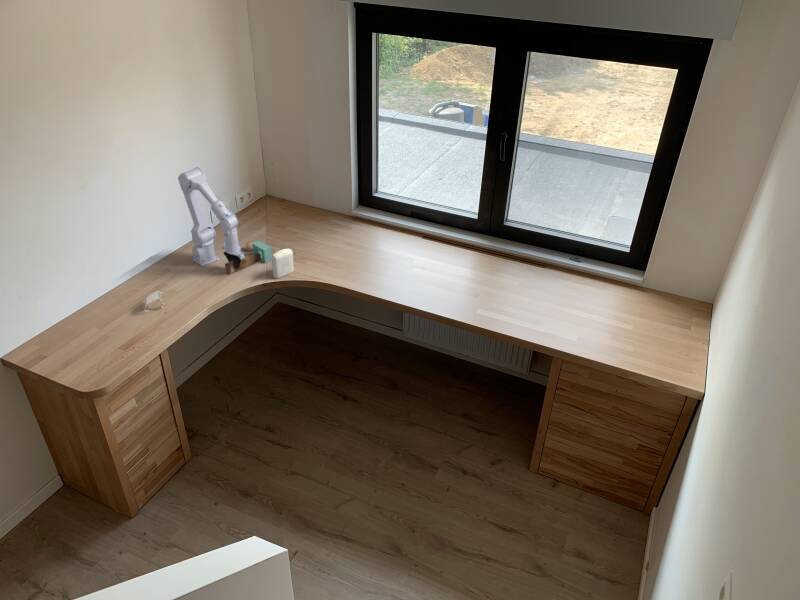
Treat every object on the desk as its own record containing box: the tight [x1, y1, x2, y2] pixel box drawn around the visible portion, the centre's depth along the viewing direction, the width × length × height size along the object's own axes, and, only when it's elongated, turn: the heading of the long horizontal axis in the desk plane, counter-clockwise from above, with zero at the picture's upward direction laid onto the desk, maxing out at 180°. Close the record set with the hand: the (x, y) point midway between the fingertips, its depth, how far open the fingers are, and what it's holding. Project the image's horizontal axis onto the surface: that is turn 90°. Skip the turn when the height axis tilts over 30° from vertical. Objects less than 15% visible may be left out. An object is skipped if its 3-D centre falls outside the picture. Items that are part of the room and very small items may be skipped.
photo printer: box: [271, 248, 295, 279], centre depth 280 cm, size 10×4×12 cm, turn 135°
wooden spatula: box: [224, 253, 262, 275], centre depth 286 cm, size 18×3×4 cm, turn 138°
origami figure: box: [143, 290, 165, 314], centre depth 258 cm, size 12×8×5 cm
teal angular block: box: [252, 240, 273, 264], centre depth 292 cm, size 4×9×7 cm, turn 48°
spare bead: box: [245, 241, 255, 253], centre depth 299 cm, size 4×4×4 cm
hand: (234, 266), depth 283 cm, fingers closed on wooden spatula, 3 cm apart
